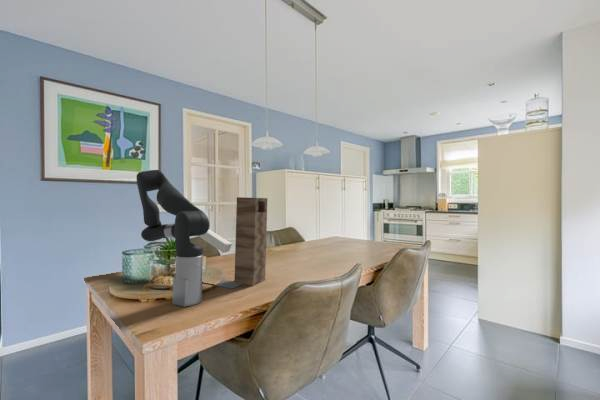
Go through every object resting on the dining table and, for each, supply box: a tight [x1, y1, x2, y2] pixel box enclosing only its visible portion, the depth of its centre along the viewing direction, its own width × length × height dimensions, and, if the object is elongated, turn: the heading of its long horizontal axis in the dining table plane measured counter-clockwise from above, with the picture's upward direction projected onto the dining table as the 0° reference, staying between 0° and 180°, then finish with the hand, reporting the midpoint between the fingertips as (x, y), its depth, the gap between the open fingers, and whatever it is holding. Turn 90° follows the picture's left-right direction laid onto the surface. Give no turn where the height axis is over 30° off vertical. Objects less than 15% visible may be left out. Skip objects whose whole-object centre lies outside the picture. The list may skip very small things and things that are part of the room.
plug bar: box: [198, 228, 233, 253], centre depth 131 cm, size 4×22×4 cm, turn 68°
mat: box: [214, 279, 243, 290], centre depth 126 cm, size 7×25×1 cm, turn 66°
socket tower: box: [234, 196, 268, 287], centre depth 128 cm, size 10×10×38 cm
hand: (203, 229), depth 132 cm, fingers closed on plug bar, 4 cm apart
